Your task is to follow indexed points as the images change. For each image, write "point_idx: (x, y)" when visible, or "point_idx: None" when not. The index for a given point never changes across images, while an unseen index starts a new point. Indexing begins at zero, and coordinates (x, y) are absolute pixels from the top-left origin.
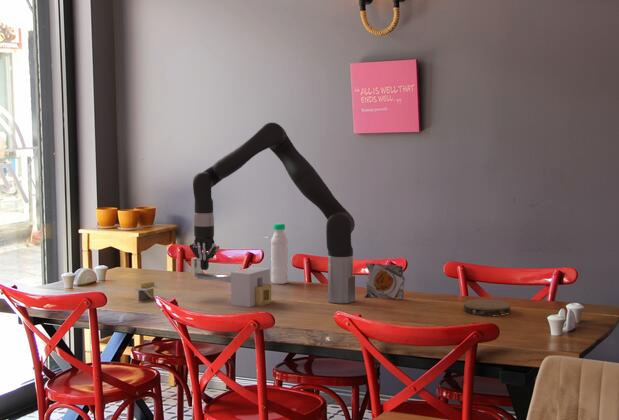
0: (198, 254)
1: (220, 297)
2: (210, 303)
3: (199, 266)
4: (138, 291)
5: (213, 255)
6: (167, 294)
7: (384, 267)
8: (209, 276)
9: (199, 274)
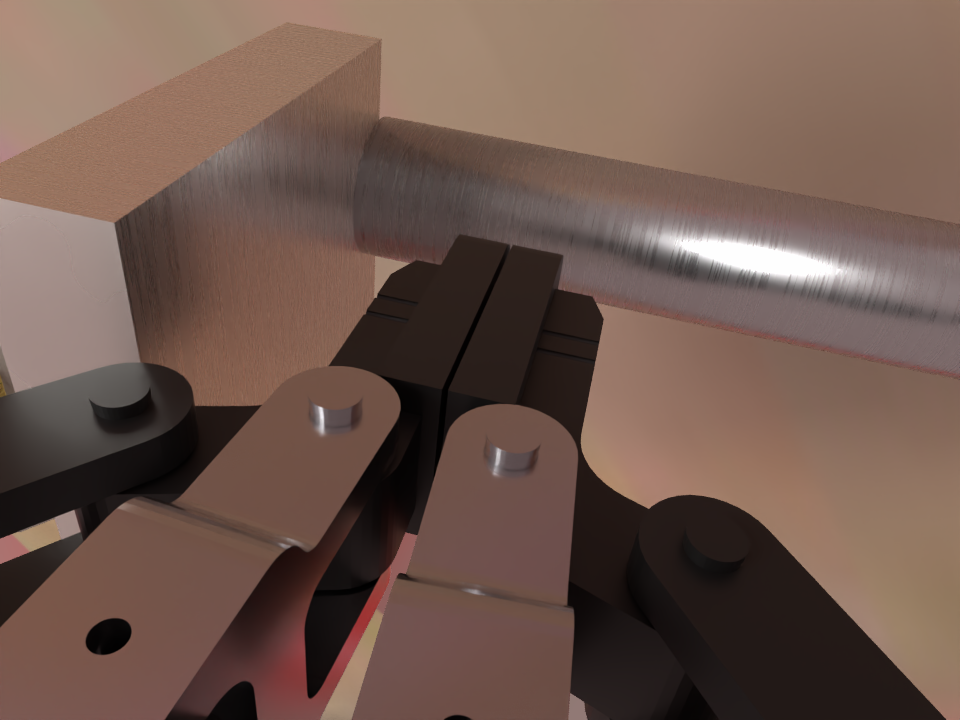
0: (16, 453)
1: (844, 10)
2: (820, 416)
3: (287, 245)
4: None
5: (838, 683)
6: (35, 72)
7: None
8: (695, 323)
9: None
